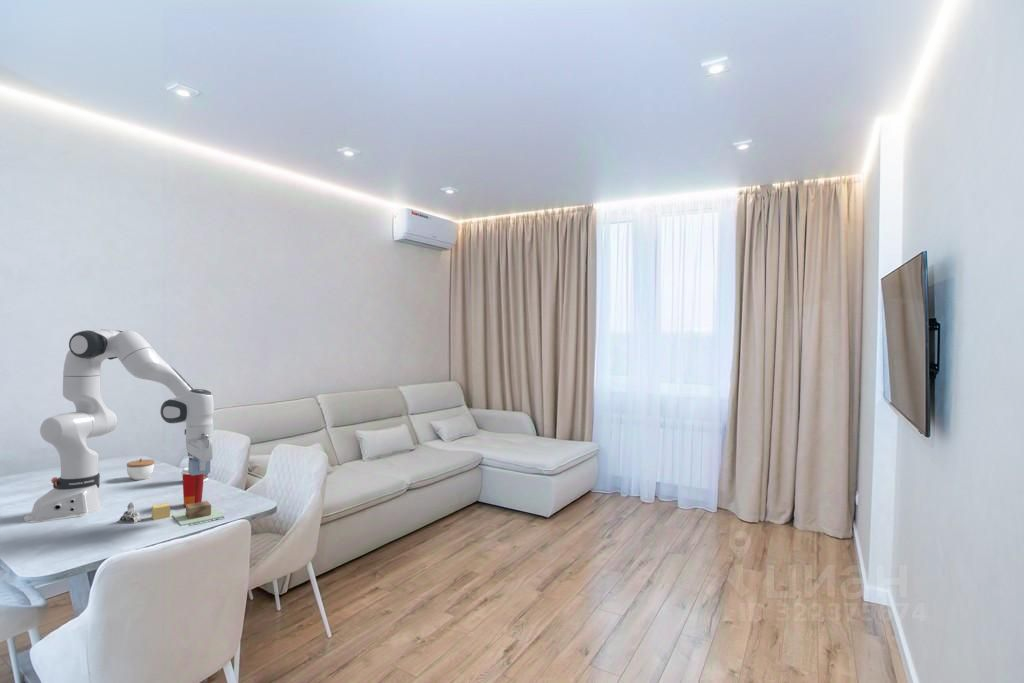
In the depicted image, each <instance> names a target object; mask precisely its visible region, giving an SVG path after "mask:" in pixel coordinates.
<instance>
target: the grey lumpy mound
mask: <svg viewBox="0 0 1024 683" xmlns="http://www.w3.org/2000/svg"><path fill="white" fill-rule="evenodd" d="M126 507H127V510H125V511H124V513H123V515H121V517H120V518H119V520H117V523H118V522H119V523H125V524H126V523H128V524H136V523H138V522H141V521H143V518H142V516H141V515H140V513H139V511H137V512H136V510H135V505H134V503H133V502H129V503H128V505H127V506H126Z"/></svg>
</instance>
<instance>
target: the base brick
mask: <svg viewBox="0 0 1024 683" xmlns="http://www.w3.org/2000/svg"><path fill="white" fill-rule="evenodd" d="M211 507H212V504H211V503H210V502H209V501H208V500H204V501H203V500H202V502H198V503H192V504H187V505H186V507H185V512H186V516H187V517H188V518H189V519H195V518H200V517H204V516H209V515H211Z"/></svg>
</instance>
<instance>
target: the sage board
mask: <svg viewBox="0 0 1024 683" xmlns="http://www.w3.org/2000/svg"><path fill="white" fill-rule="evenodd" d="M172 518H174V520H175V521H176V522H177V523H178V524H179V525H180V526H186V525H187V526H189V525H191V524H196V523H200V522H205V521H209V520H213V519H219V518H224V519H225V515H224V514H223V513H222V512H220V511H219V509H217V508H216V507H215V506H211V515H209V516H204V517H200V518H195V519H189V518H188V517H187V516H186V511H183V512H179V513H178V512H177V513H173V514H172ZM205 523H206V522H205ZM200 524H201V523H200ZM196 525H197V524H196ZM191 526H192V525H191Z"/></svg>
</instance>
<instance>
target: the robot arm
mask: <svg viewBox="0 0 1024 683" xmlns="http://www.w3.org/2000/svg"><path fill="white" fill-rule="evenodd" d="M68 348H69V350H68V351H67V353H66V355H65V360H64V364H63V373H62V397H63V398H64V399H66V400H67V401H70V402H72V403H73V404H74V406H75V411H72V412H63V413H59V414H56V415H53V416H50V417H48V418H45V419H44V420H43V422H42V423H41V425H40V427H39V434H40V435H41V436H40V437H41V438H42V439H43V440H44V441H45V442H47V443H48V444H50V445H52V446H53V447H54V448H55V450H56V451H57V453H58V456H59V461H60V477H52V478H51V480H50V481H51V483H52V484H53V485H52V486H53V487H52V489H50V490H49V491H48V492H46V493H44V495H42V496H40V497H39V498H38V499H37V500H36V501H35V502H34V503H33V506H32V509H31V512H29V513H27V514H25V515H24V517H23V522H25V523H27V524H35V523H36V524H37V523H44V522H51V521H53V522H54V521H60V520H69V519H75V518H76V519H77V518H82V517H83V518H84V517H86V516H88V515H90V514H93V513H96V512H98V511H101V510H102V509H103V507H104V506H103V504H102V502H101V496H100V489H99V488H100V485H101V476H100V472H99V461H100V460H99V457H100V456H99V454H98V452H97V451H95V450H94V449H92V448H89V447H88V444H87V442H86V440H87V439H91V438H97V437H101V436H104V435H107V434H109V433H111V432H112V431H114V430H115V429H116V427H117V425H118V417H117V415H116V413H115V412H114V411H113V410H111V409H110V408H109V407H107V405H106V404H105V402H104V400H103V396H102V393H101V392H102V391H101V378H102V377H101V372H102V370H101V369H102V368H101V366H102V363H103V361H106V359H107V360H110V361H111V360H114V359H118V360H119V361H120V363H121V365H122V366H123V367H124V368H125V369H126V371H127V372H128V373H129V374H130V375H132V376H133V377H135V378H137V379H141V380H148V381H150V382H151V381H152V382H156V383H159V384H162V385H164V386H165V387H166V388H168V390H170V392H171V393H172V394H173V395H174V396H175V397H173V398H170V399H167V400H165V401H164V402H163V403H162V405H161V407H160V410H159V411H160V412H159V413H160V416H161V418H162V419H163V421H164V422H166V423H168V424H179V423H185V424H186V425H185V426H186V428H185V429H184V432H183V435H185V443H186V444H185V445H186V446H185V447H186V452H187V454H188V453H189V454H191V455H193V459H199V462H200V463H199V470H200V471H203V470H205V465H206V462H207V461H209V460H210V461H212V460H213V456H214V448H213V447H214V446H213V441H212V439H210V438H212V437H214V430H215V429H214V419H213V417H214V413H215V400H214V396H213V393H212V392H211V390H210V391H209V390H207V389H202V388H201V389H199V388H193V386H191V385H190V383H189V382H187V380H186V379H185V378H184V377H183V376H182V375H181V374H180V373H179V372H178V371H177V370H176V369H175V368H174V367H173V366H171V365H170V364H169V363H167V362H166V361H165V360H164V359H163V358H162V357H161V356H160V355H159V354H158V352H156V351H155V350H154V348H153V347H152V346H151V344H150V343H149V342H148V341H147V340H146V339H145V338H144V337H143V336H142V335H141V334H140V333H138V332H136V331H135V330H132V329H131V330H124V331H122V330H113V329H112V330H111V329H100V330H99V329H95V330H82V331H78V332H75V333H73V334H72V336H71V337H70V338H69V342H68ZM189 454H188V455H189Z"/></svg>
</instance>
